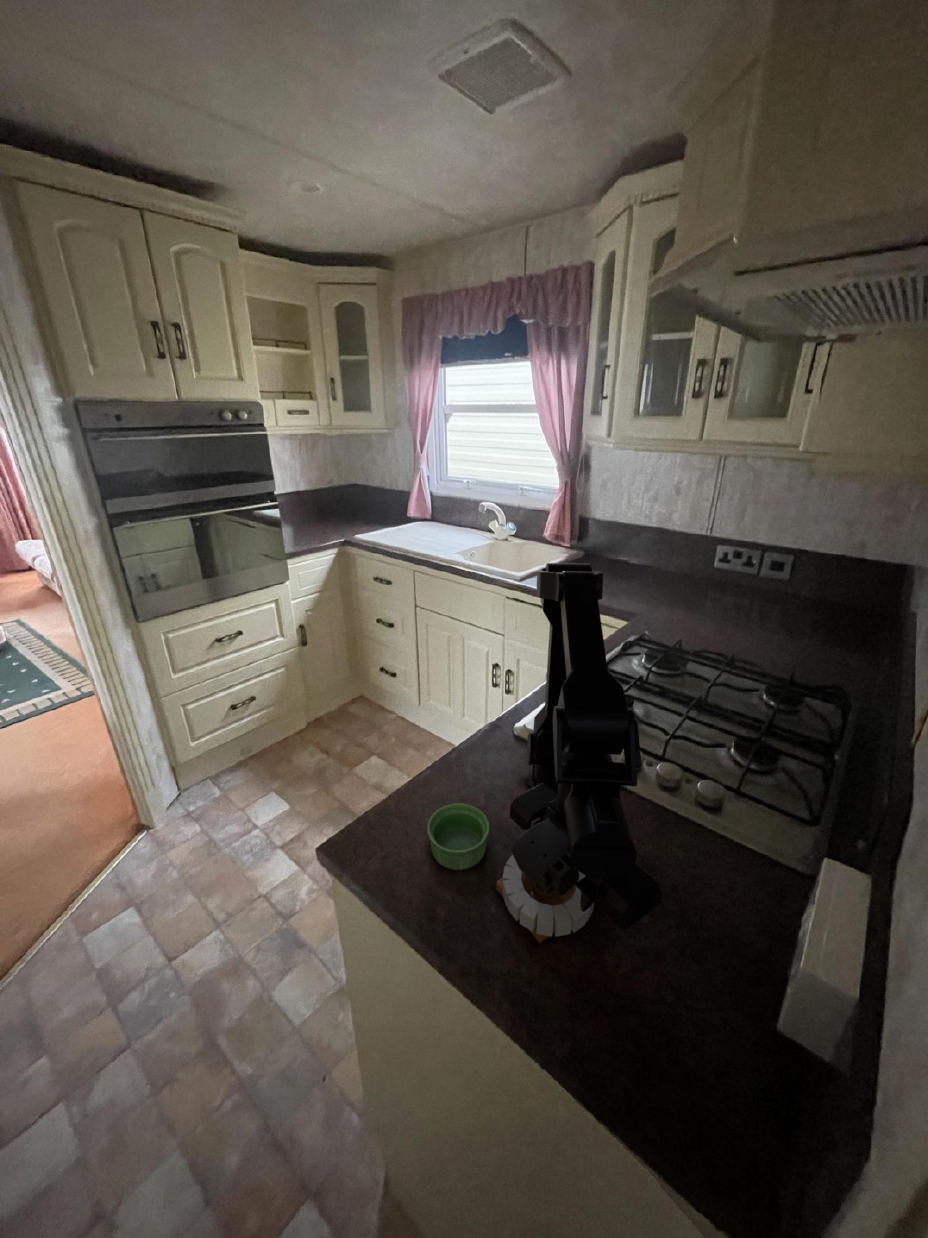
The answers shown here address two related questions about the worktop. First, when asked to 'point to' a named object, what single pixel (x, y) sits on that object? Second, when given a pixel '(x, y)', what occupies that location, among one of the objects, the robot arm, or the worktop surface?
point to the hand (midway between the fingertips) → (573, 897)
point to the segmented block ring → (541, 906)
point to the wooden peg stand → (540, 899)
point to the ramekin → (458, 835)
